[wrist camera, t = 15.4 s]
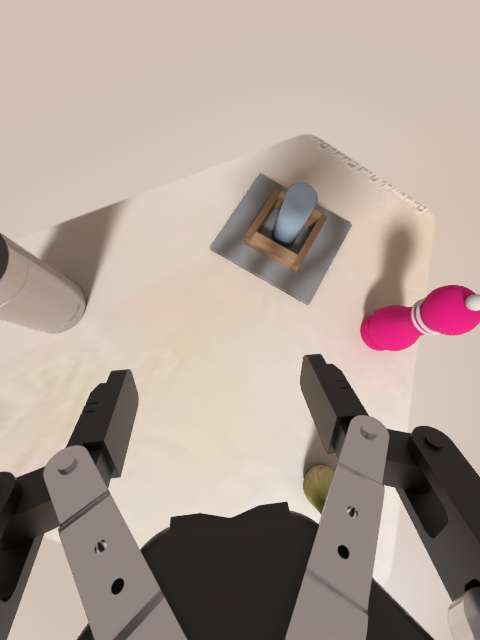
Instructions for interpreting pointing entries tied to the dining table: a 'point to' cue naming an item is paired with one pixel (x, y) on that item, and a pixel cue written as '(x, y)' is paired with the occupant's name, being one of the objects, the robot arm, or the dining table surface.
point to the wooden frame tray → (268, 256)
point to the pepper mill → (423, 319)
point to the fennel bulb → (318, 485)
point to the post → (294, 213)
